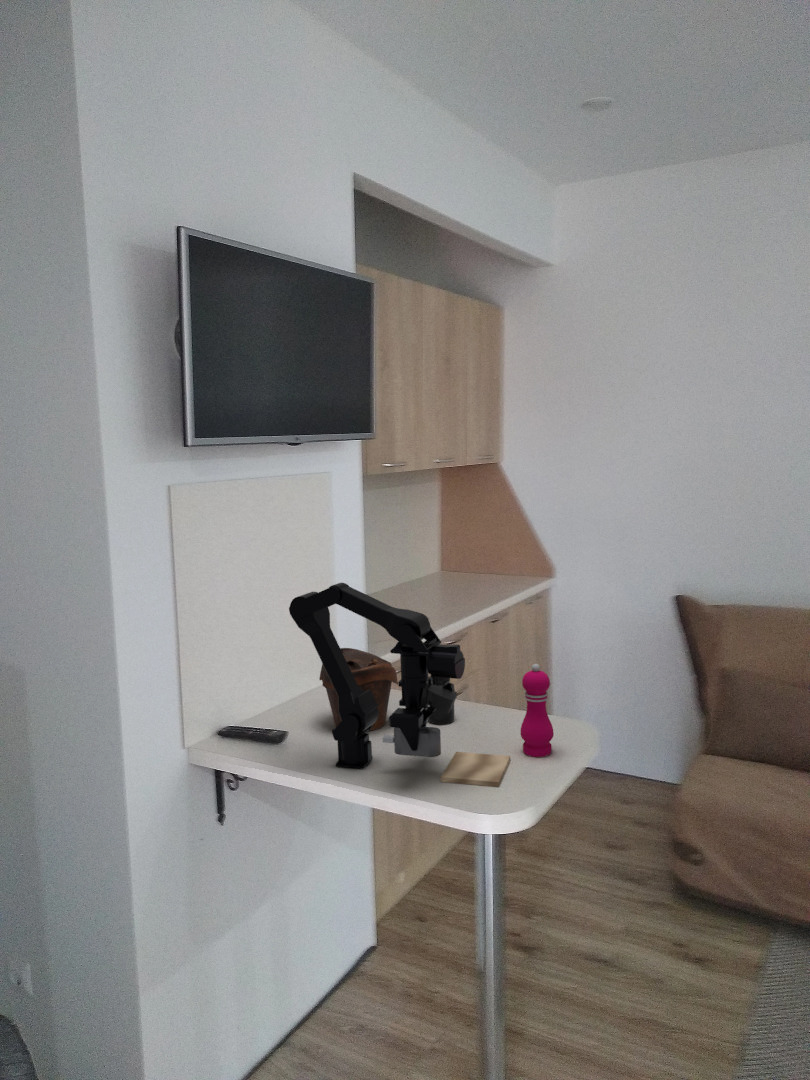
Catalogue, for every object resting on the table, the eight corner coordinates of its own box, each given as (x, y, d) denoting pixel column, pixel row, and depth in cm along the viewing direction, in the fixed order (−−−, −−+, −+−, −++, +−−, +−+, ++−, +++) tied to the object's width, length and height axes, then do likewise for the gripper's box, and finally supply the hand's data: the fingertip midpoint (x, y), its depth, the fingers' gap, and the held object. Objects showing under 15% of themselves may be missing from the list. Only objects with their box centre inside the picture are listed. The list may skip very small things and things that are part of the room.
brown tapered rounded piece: (389, 738, 192) (386, 664, 190) (310, 734, 197) (306, 661, 195) (409, 715, 209) (406, 646, 207) (335, 711, 214) (332, 644, 213)
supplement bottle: (452, 725, 200) (451, 677, 198) (425, 724, 201) (423, 677, 200) (456, 716, 206) (455, 670, 205) (430, 715, 208) (428, 669, 206)
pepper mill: (560, 751, 180) (559, 663, 178) (539, 760, 176) (537, 670, 173) (535, 743, 186) (533, 657, 184) (514, 752, 181) (512, 664, 179)
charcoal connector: (381, 753, 172) (380, 730, 171) (387, 746, 176) (386, 724, 175) (438, 757, 168) (437, 734, 168) (443, 750, 172) (442, 727, 172)
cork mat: (440, 781, 167) (440, 777, 167) (456, 756, 180) (456, 751, 180) (498, 786, 163) (498, 782, 163) (510, 760, 177) (510, 755, 176)
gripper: (441, 689, 159) (443, 766, 160) (462, 664, 176) (464, 733, 178) (386, 686, 162) (389, 762, 164) (413, 662, 180) (415, 730, 181)
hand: (417, 746), depth 172 cm, fingers closed on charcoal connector, 4 cm apart
